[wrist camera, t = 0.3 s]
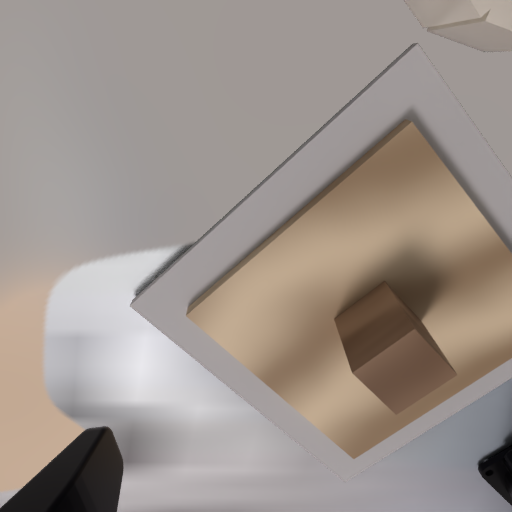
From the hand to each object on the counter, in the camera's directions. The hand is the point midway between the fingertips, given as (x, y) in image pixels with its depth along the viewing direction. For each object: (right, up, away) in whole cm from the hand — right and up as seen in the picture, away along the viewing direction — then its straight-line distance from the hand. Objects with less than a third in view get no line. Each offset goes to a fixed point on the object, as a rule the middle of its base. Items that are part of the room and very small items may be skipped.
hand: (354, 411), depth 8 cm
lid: (+4, 0, +14) cm, 15 cm away
